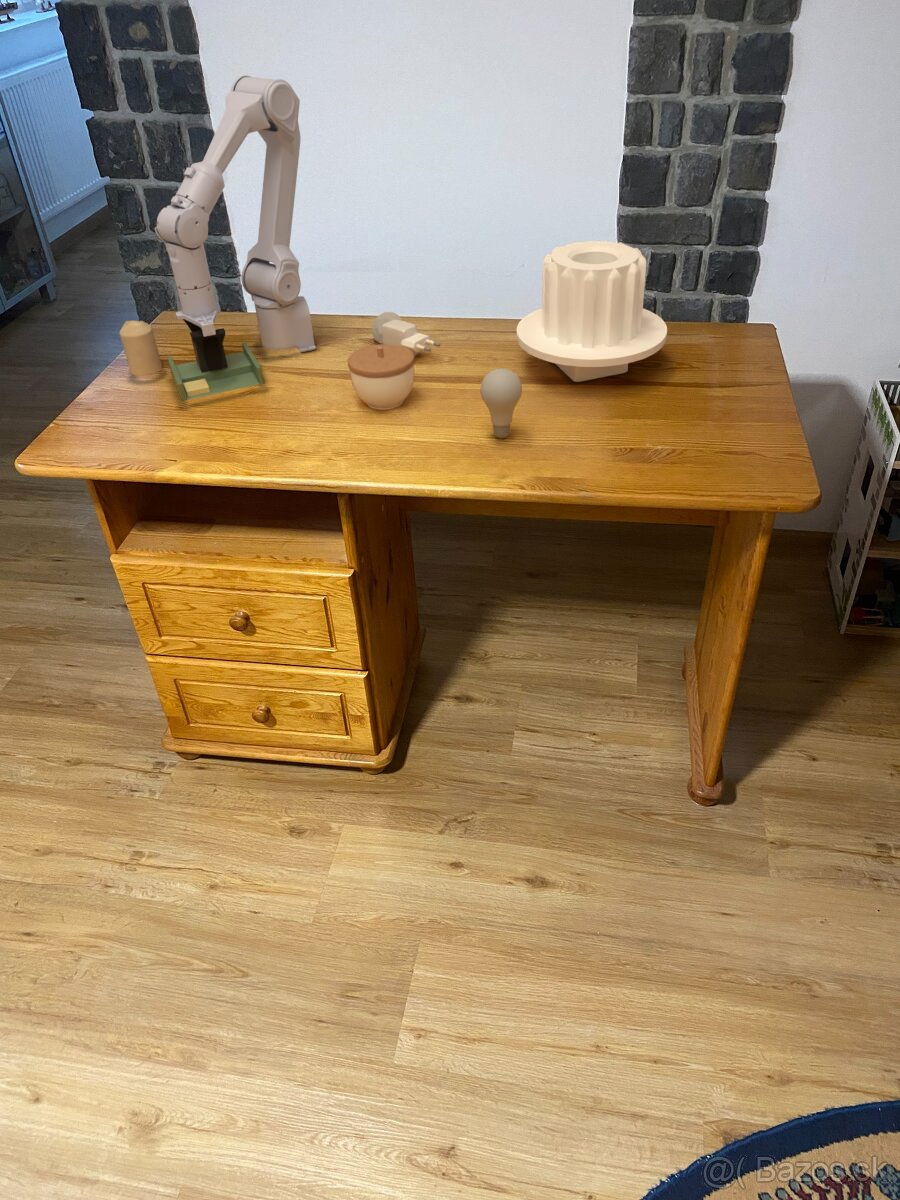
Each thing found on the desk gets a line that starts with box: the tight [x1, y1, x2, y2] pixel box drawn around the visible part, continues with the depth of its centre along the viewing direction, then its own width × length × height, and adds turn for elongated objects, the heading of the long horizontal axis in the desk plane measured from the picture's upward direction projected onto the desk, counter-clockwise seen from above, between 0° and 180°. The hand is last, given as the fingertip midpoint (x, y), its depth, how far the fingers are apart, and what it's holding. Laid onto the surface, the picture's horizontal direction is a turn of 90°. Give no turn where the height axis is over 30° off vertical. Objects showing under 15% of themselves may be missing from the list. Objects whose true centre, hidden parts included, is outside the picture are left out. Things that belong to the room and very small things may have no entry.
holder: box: [190, 338, 228, 373], centre depth 158 cm, size 5×5×4 cm
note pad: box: [183, 379, 210, 397], centre depth 154 cm, size 4×4×1 cm
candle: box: [119, 320, 163, 377], centre depth 160 cm, size 6×6×10 cm
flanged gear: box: [516, 239, 668, 383], centre depth 151 cm, size 25×25×19 cm
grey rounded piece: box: [371, 311, 402, 345], centre depth 170 cm, size 6×6×5 cm
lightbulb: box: [480, 367, 523, 439], centre depth 135 cm, size 6×6×11 cm
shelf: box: [167, 341, 265, 402], centre depth 157 cm, size 14×12×4 cm
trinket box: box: [347, 344, 415, 411], centre depth 147 cm, size 11×11×9 cm
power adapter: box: [382, 319, 441, 357], centre depth 161 cm, size 11×5×6 cm, turn 50°
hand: (211, 361), depth 159 cm, fingers open, 7 cm apart
